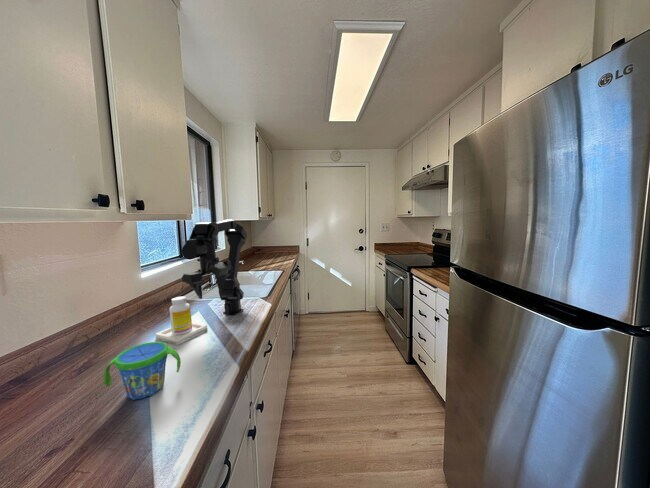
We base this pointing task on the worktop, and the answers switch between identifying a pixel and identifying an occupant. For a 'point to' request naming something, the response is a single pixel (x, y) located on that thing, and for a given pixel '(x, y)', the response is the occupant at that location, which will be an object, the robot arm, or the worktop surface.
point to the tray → (178, 339)
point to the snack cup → (142, 368)
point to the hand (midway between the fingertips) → (211, 295)
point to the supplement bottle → (180, 316)
